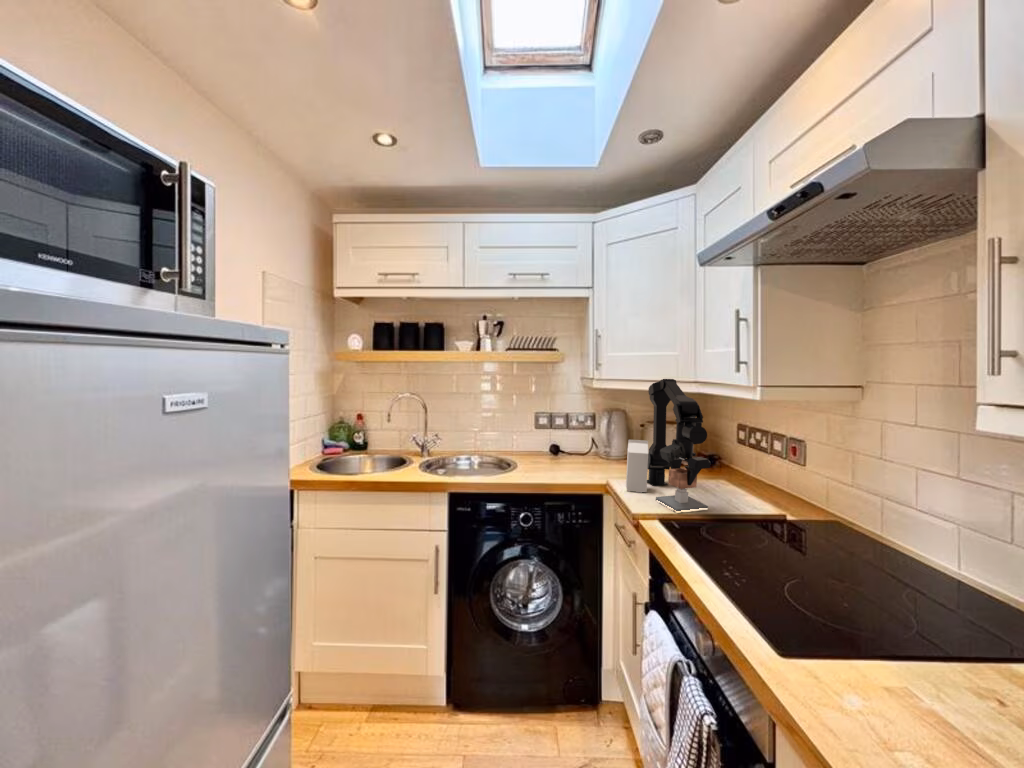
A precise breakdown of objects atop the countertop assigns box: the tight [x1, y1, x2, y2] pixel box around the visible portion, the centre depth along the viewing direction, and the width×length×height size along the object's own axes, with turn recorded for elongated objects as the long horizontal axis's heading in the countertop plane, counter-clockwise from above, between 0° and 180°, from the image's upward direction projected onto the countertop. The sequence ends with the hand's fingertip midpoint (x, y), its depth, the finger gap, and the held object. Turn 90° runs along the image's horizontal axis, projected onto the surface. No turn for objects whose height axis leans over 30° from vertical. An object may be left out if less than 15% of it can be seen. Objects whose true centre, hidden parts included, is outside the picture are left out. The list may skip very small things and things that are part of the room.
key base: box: [655, 487, 709, 511], centre depth 157 cm, size 12×12×6 cm
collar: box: [667, 467, 698, 489], centre depth 157 cm, size 6×6×5 cm
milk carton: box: [625, 439, 649, 493], centre depth 173 cm, size 7×7×19 cm
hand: (682, 482), depth 157 cm, fingers closed on collar, 6 cm apart
